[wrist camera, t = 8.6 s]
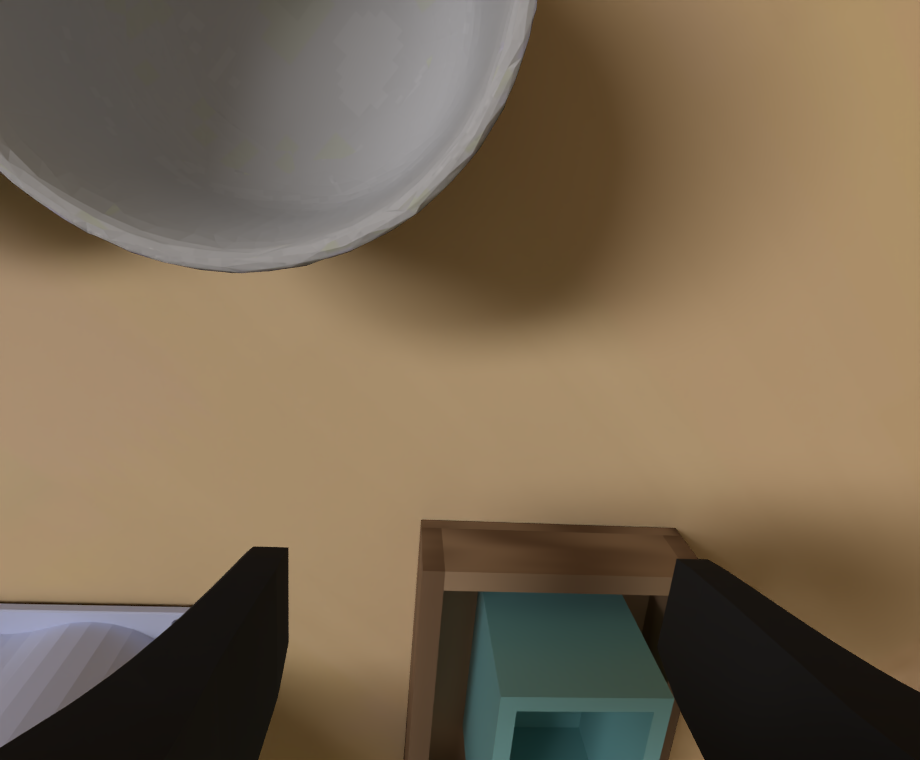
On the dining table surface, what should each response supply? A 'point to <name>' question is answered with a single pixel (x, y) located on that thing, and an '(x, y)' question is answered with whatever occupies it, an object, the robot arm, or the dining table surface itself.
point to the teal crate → (562, 681)
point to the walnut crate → (519, 570)
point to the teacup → (249, 117)
